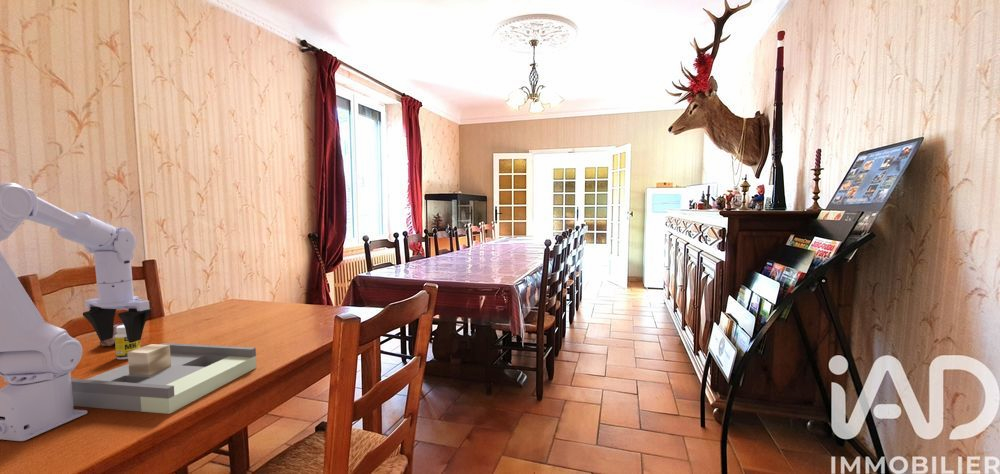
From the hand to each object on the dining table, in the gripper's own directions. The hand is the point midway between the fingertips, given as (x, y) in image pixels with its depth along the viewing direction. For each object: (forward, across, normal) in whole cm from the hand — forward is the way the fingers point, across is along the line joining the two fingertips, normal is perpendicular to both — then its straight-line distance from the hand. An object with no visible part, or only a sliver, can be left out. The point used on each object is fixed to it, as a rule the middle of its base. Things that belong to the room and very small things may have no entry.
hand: (120, 340), depth 89 cm
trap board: (+9, -12, 0) cm, 15 cm away
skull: (+10, +30, -22) cm, 39 cm away
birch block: (+6, -8, 0) cm, 10 cm away
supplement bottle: (+10, +15, -13) cm, 22 cm away
